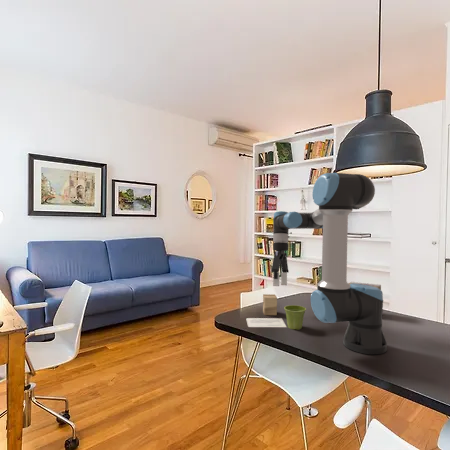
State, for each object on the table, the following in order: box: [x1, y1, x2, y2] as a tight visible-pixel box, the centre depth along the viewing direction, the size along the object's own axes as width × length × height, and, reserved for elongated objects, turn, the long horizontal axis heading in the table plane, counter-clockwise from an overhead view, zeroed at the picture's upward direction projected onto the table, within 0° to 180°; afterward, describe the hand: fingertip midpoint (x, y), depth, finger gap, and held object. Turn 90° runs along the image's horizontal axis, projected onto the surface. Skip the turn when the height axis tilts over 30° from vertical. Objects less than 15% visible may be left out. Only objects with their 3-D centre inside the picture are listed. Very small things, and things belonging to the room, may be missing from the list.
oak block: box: [262, 293, 278, 316], centre depth 163 cm, size 6×6×9 cm
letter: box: [246, 317, 287, 328], centre depth 149 cm, size 12×17×1 cm
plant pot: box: [283, 304, 307, 330], centre depth 143 cm, size 9×9×9 cm
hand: (280, 285), depth 160 cm, fingers open, 13 cm apart
